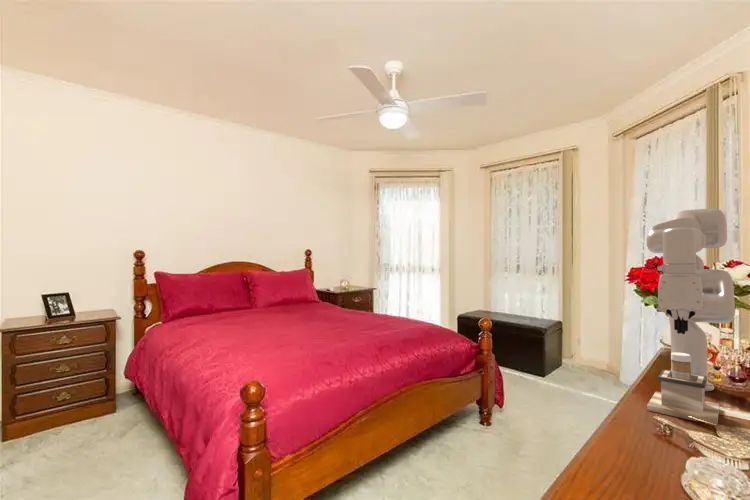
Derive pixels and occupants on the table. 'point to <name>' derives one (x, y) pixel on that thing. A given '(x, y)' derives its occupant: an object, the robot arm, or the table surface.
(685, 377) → the sprinkles bottle
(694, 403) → the silver stepped pedestal
